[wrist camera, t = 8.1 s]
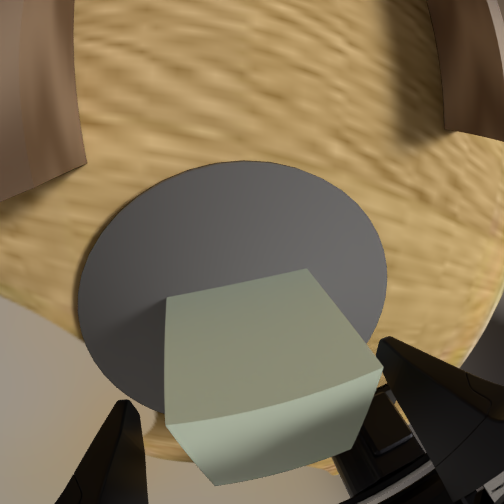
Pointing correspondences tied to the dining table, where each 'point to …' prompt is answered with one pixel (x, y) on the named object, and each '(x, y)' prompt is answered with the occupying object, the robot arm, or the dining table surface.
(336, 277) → the coaster
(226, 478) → the block
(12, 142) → the bay
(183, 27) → the dining table surface
